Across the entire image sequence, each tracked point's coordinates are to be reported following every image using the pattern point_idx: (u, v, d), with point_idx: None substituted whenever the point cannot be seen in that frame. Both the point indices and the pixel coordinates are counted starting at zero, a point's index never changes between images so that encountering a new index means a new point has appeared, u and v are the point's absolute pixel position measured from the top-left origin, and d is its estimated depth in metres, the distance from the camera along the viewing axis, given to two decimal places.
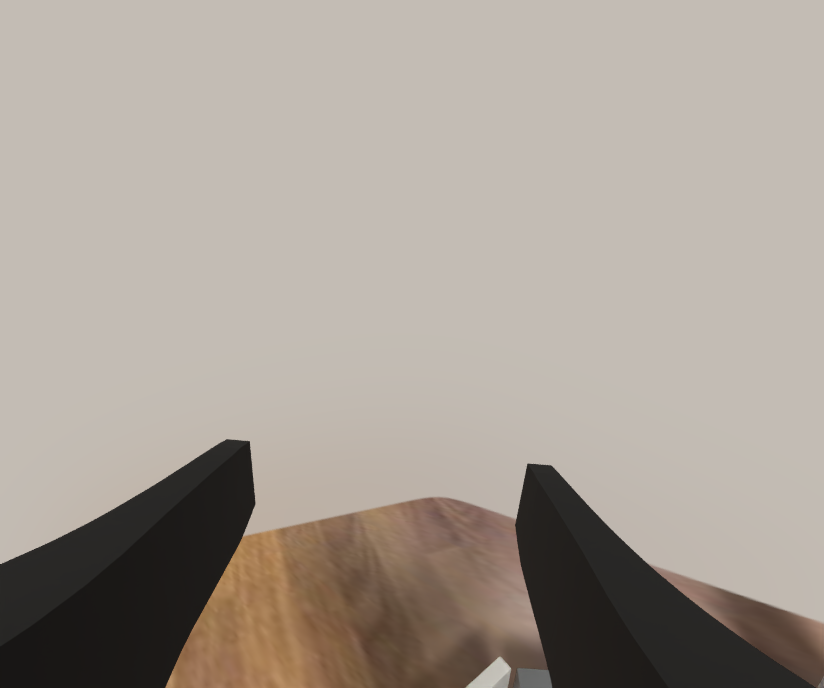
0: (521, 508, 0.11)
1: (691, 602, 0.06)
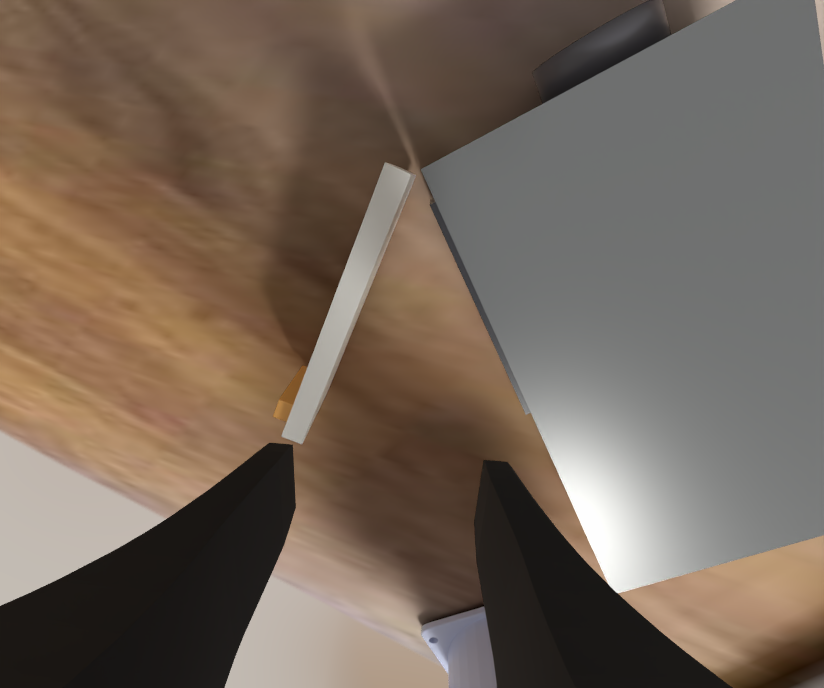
0: (478, 505, 0.11)
1: (618, 596, 0.06)
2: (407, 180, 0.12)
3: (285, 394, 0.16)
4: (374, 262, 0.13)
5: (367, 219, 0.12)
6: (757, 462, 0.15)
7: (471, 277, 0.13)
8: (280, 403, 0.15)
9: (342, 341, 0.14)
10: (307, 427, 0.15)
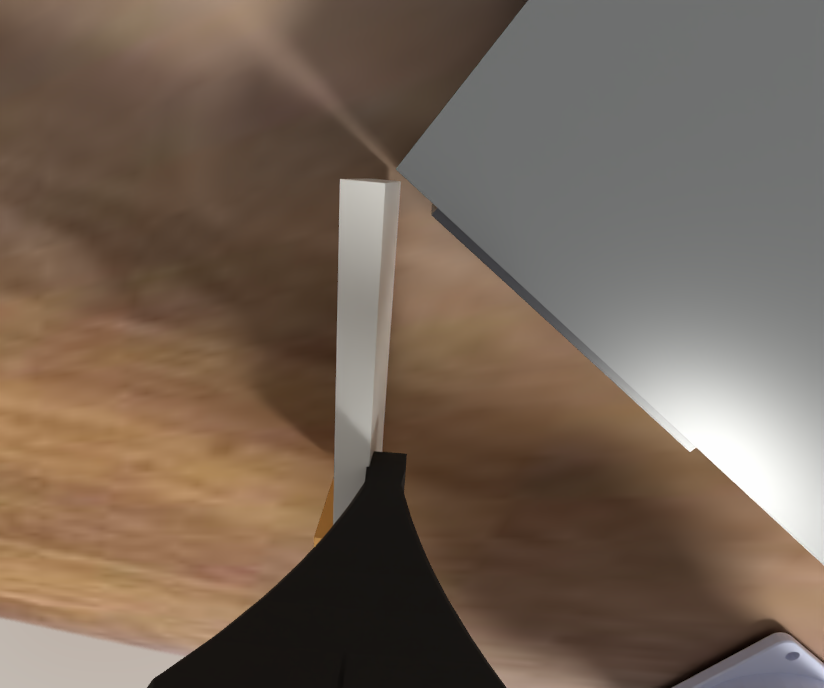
0: None
1: (433, 580, 0.06)
2: (382, 194, 0.08)
3: (321, 525, 0.12)
4: (375, 328, 0.09)
5: (343, 272, 0.08)
6: None
7: (536, 295, 0.08)
8: (317, 541, 0.11)
9: (368, 447, 0.10)
10: None
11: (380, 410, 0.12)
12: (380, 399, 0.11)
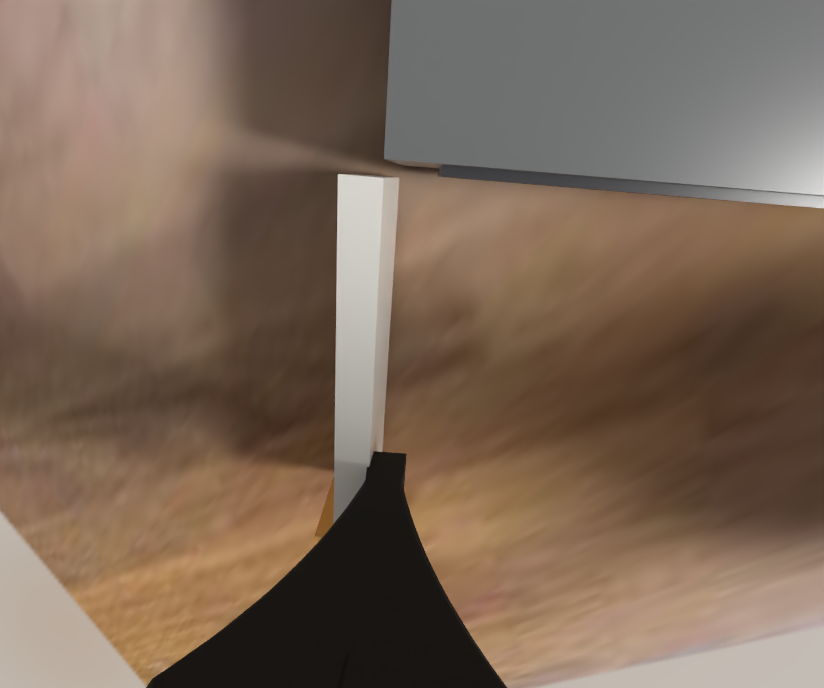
0: None
1: (433, 580, 0.06)
2: (381, 189, 0.08)
3: (321, 523, 0.12)
4: (374, 325, 0.08)
5: (342, 268, 0.08)
6: None
7: (586, 172, 0.07)
8: (318, 540, 0.11)
9: (368, 445, 0.10)
10: None
11: (380, 408, 0.12)
12: (380, 396, 0.11)
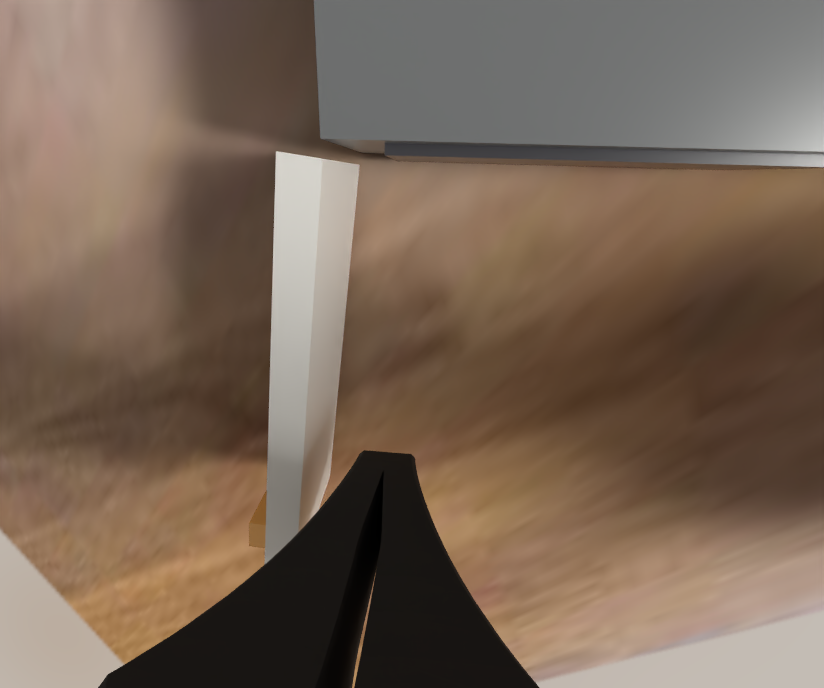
0: None
1: (459, 582, 0.06)
2: (320, 170, 0.07)
3: (259, 510, 0.11)
4: (311, 310, 0.08)
5: (279, 249, 0.08)
6: None
7: (528, 140, 0.07)
8: (252, 527, 0.11)
9: (303, 433, 0.09)
10: None
11: (326, 397, 0.11)
12: (326, 386, 0.11)
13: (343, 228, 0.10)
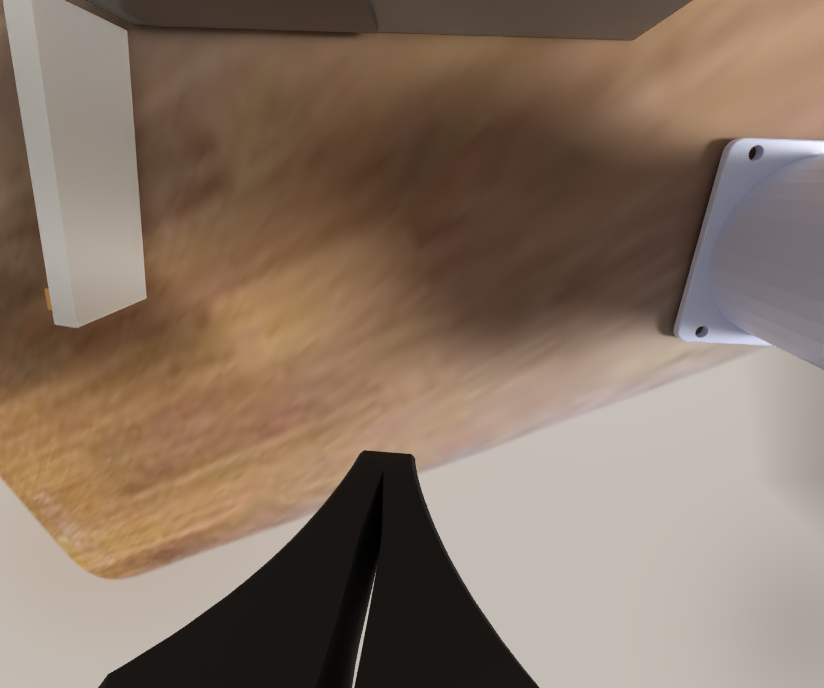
0: None
1: (459, 582, 0.06)
2: None
3: None
4: (45, 97, 0.12)
5: (14, 49, 0.12)
6: None
7: None
8: (47, 292, 0.15)
9: (58, 198, 0.14)
10: (73, 307, 0.15)
11: (108, 204, 0.16)
12: (102, 191, 0.15)
13: (101, 67, 0.14)
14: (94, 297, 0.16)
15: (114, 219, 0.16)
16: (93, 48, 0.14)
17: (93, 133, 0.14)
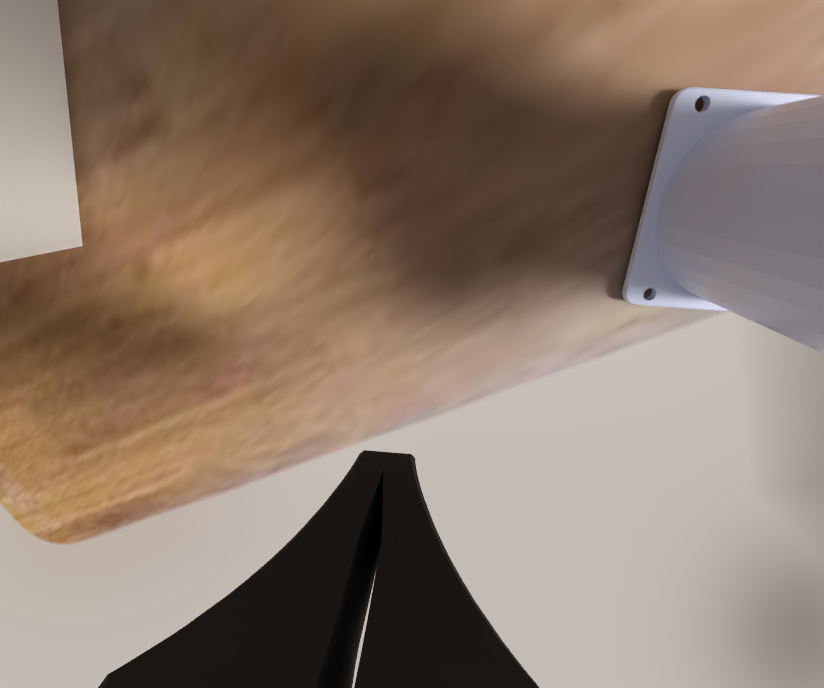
0: None
1: (459, 582, 0.06)
2: None
3: None
4: None
5: None
6: None
7: None
8: None
9: None
10: None
11: (32, 138, 0.15)
12: (24, 123, 0.15)
13: None
14: (15, 234, 0.15)
15: (39, 155, 0.16)
16: None
17: (11, 59, 0.14)
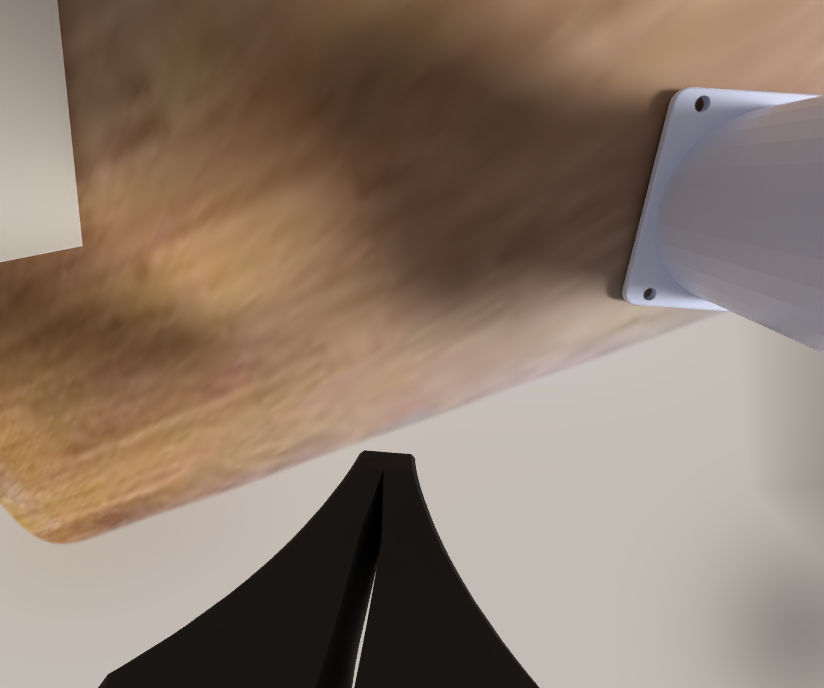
0: None
1: (459, 582, 0.06)
2: None
3: None
4: None
5: None
6: None
7: None
8: None
9: None
10: None
11: (32, 138, 0.15)
12: (24, 123, 0.15)
13: None
14: (15, 234, 0.15)
15: (39, 155, 0.16)
16: None
17: (11, 59, 0.14)
